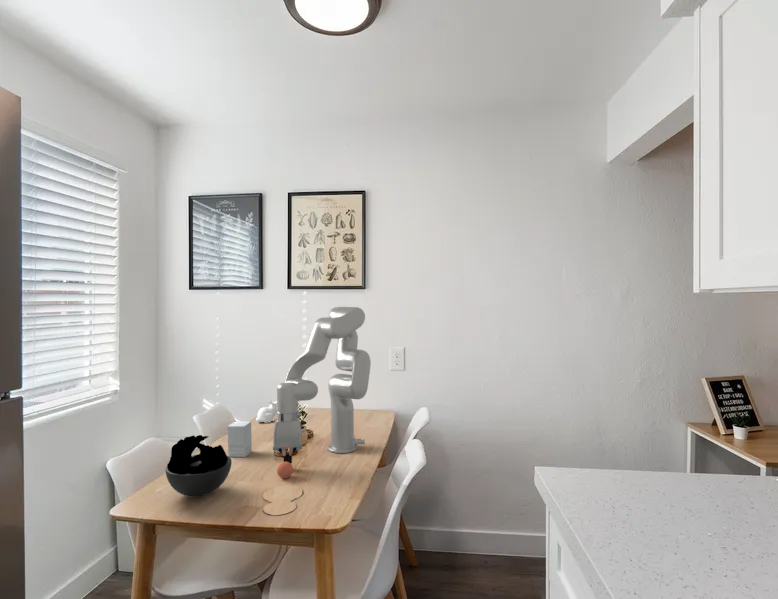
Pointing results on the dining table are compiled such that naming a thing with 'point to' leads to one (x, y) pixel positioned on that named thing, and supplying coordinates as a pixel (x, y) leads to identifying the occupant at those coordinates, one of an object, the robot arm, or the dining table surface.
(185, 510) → the dining table surface
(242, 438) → the supplement box
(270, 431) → the dining table surface
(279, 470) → the ball
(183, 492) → the coal bowl
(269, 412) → the rabbit
